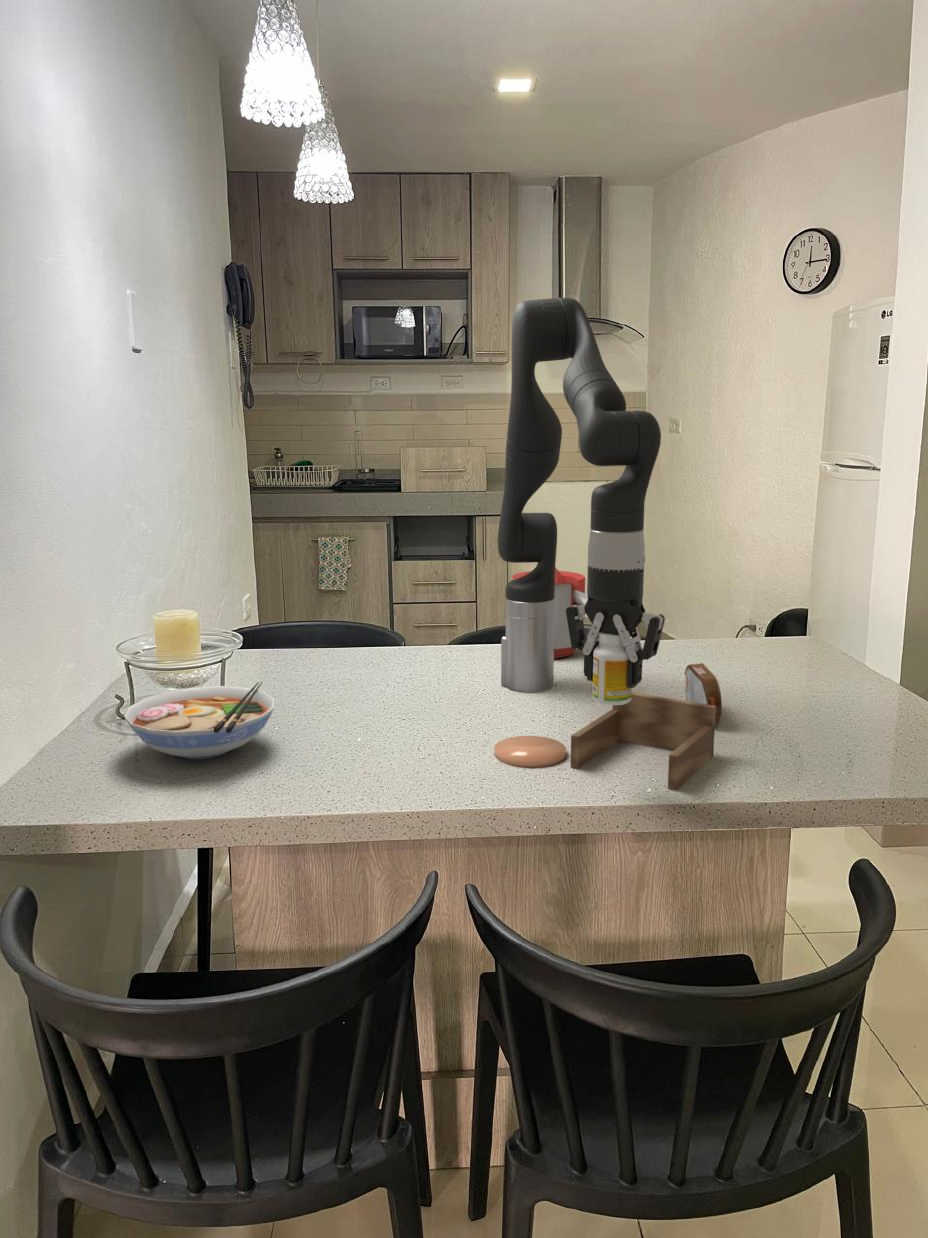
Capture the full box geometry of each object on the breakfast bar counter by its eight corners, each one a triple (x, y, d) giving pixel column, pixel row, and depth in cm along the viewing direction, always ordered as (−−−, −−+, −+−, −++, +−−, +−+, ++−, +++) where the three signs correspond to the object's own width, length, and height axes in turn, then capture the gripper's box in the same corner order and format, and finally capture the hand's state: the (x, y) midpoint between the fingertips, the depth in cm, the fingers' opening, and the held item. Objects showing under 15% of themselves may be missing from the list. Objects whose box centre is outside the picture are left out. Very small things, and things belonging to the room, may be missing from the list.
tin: (722, 730, 157) (725, 681, 155) (703, 730, 157) (705, 681, 155) (698, 702, 172) (700, 657, 170) (681, 702, 172) (683, 657, 170)
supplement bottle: (638, 699, 132) (641, 631, 130) (617, 708, 128) (619, 639, 126) (606, 691, 136) (608, 625, 134) (584, 700, 132) (586, 632, 130)
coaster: (481, 758, 145) (481, 752, 145) (516, 737, 154) (517, 731, 154) (544, 772, 139) (544, 766, 139) (577, 750, 148) (578, 744, 148)
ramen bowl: (159, 725, 162) (155, 679, 160) (293, 725, 161) (290, 679, 159) (100, 782, 137) (95, 728, 135) (257, 782, 137) (253, 728, 135)
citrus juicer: (570, 667, 195) (572, 571, 191) (498, 655, 205) (498, 564, 200) (603, 650, 208) (605, 560, 204) (533, 641, 217) (534, 554, 213)
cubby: (570, 767, 141) (571, 716, 140) (614, 736, 154) (616, 689, 153) (675, 790, 133) (678, 736, 131) (713, 755, 146) (715, 705, 144)
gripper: (555, 562, 128) (553, 682, 132) (655, 571, 121) (650, 698, 125) (579, 554, 135) (577, 669, 138) (677, 563, 127) (671, 684, 131)
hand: (612, 682), depth 132 cm, fingers closed on supplement bottle, 5 cm apart
